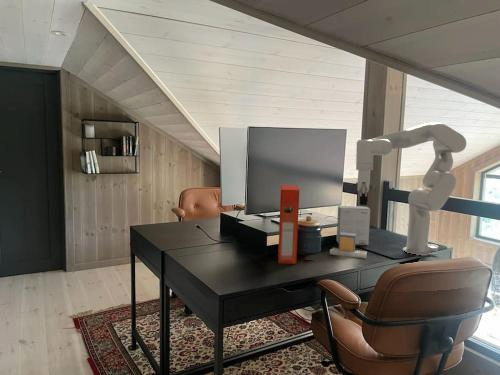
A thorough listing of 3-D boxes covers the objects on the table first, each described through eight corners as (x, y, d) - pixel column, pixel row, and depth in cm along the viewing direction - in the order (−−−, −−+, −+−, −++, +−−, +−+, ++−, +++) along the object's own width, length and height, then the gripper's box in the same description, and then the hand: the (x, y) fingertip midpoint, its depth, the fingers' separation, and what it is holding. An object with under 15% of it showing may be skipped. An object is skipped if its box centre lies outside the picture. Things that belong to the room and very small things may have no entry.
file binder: (277, 263, 169) (280, 189, 165) (277, 251, 186) (280, 184, 183) (296, 264, 169) (300, 190, 165) (294, 252, 186) (298, 185, 182)
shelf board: (366, 254, 187) (367, 247, 186) (365, 261, 176) (366, 254, 175) (332, 250, 192) (333, 243, 191) (329, 257, 180) (330, 249, 180)
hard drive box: (365, 244, 207) (368, 206, 204) (368, 248, 199) (371, 209, 197) (335, 242, 208) (338, 205, 206) (337, 246, 200) (339, 207, 198)
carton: (339, 250, 187) (340, 232, 186) (354, 252, 185) (356, 233, 183) (338, 253, 182) (339, 234, 181) (353, 255, 179) (355, 236, 178)
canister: (319, 257, 180) (322, 219, 178) (291, 254, 183) (293, 217, 181) (321, 249, 192) (323, 214, 190) (295, 247, 195) (296, 212, 193)
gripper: (357, 165, 191) (356, 199, 193) (355, 168, 174) (354, 206, 177) (373, 165, 188) (372, 200, 191) (372, 168, 172) (371, 206, 174)
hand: (363, 203), depth 184 cm, fingers open, 9 cm apart
